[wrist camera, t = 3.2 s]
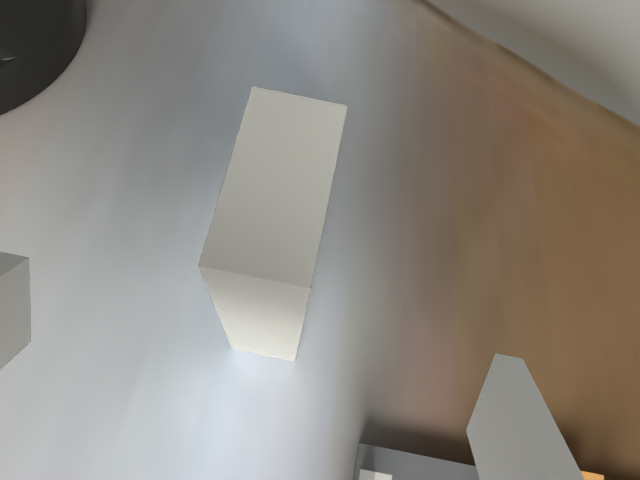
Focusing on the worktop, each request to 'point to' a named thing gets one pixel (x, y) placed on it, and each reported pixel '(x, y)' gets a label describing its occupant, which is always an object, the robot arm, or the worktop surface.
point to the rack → (415, 466)
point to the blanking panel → (272, 220)
